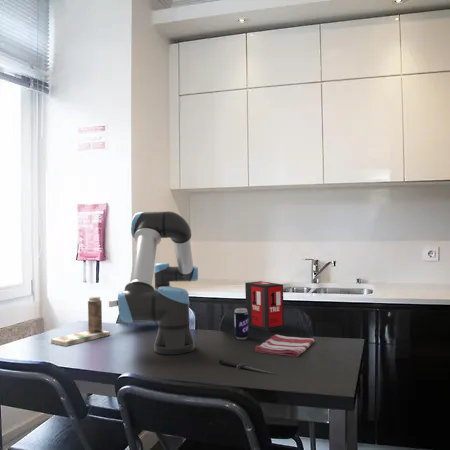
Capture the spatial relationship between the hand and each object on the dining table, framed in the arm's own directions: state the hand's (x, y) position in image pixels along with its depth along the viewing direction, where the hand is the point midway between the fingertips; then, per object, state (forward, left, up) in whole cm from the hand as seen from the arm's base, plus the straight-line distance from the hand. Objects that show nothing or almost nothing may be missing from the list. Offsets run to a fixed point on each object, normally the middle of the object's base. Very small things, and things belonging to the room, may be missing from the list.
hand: (110, 304), depth 206 cm
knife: (-68, -51, -13) cm, 86 cm away
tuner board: (-11, +11, -12) cm, 20 cm away
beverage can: (-25, -55, -13) cm, 62 cm away
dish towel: (-42, -69, -13) cm, 82 cm away
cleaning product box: (-7, -69, -13) cm, 71 cm away
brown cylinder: (-7, +5, -11) cm, 14 cm away
